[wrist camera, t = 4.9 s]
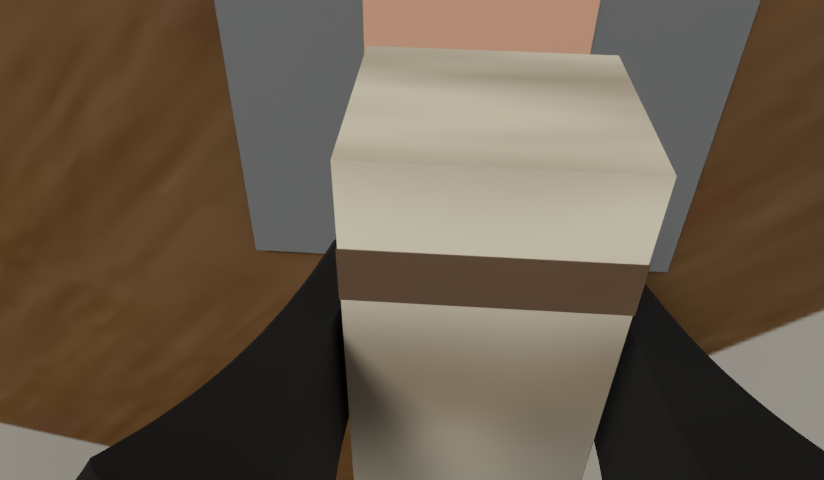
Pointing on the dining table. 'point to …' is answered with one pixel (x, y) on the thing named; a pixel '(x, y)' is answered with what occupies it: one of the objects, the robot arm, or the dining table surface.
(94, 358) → the dining table surface
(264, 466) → the robot arm
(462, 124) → the cream banded block
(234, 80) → the mat
